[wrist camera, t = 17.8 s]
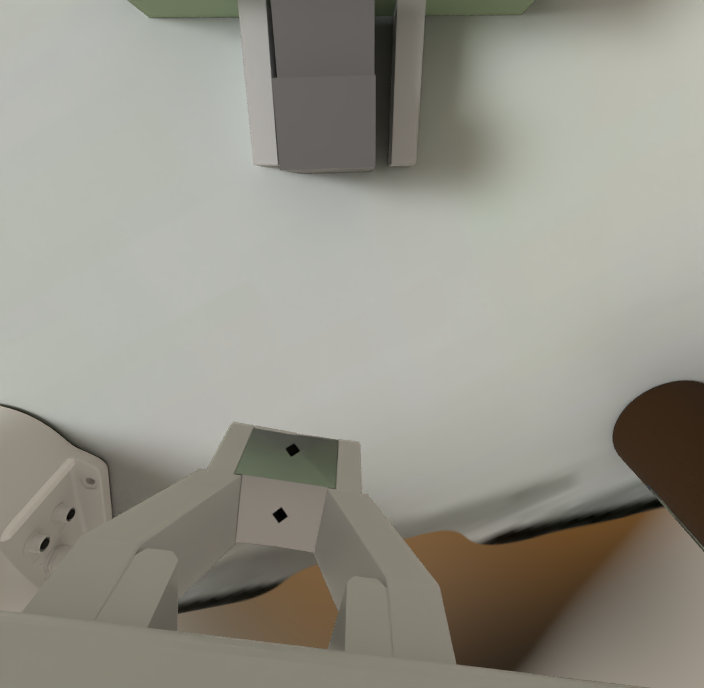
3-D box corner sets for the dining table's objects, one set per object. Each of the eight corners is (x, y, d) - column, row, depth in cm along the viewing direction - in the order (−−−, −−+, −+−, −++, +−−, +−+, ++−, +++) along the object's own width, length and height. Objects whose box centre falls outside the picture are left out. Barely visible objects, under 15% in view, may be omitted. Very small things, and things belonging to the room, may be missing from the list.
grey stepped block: (371, 171, 25) (375, 167, 19) (298, 173, 25) (280, 169, 19) (370, 23, 22) (376, -37, 16) (287, 26, 22) (261, -33, 16)
